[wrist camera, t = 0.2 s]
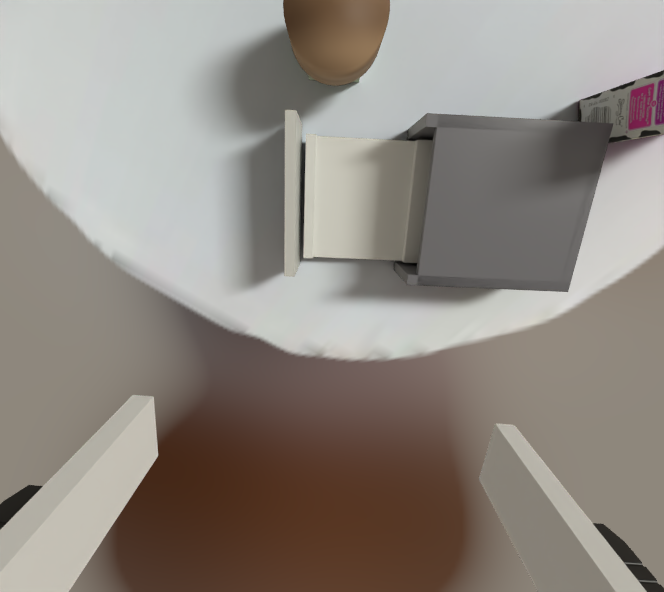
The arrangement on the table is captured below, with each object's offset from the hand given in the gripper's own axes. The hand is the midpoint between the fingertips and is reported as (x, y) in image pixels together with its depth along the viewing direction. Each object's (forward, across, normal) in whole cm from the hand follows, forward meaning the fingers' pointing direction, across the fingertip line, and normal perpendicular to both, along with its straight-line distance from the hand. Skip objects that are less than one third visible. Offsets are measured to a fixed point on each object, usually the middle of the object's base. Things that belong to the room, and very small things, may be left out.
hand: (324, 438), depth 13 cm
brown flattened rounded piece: (+23, -1, +22) cm, 32 cm away
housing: (+27, +15, +9) cm, 33 cm away
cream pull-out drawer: (+27, +3, +9) cm, 29 cm away
